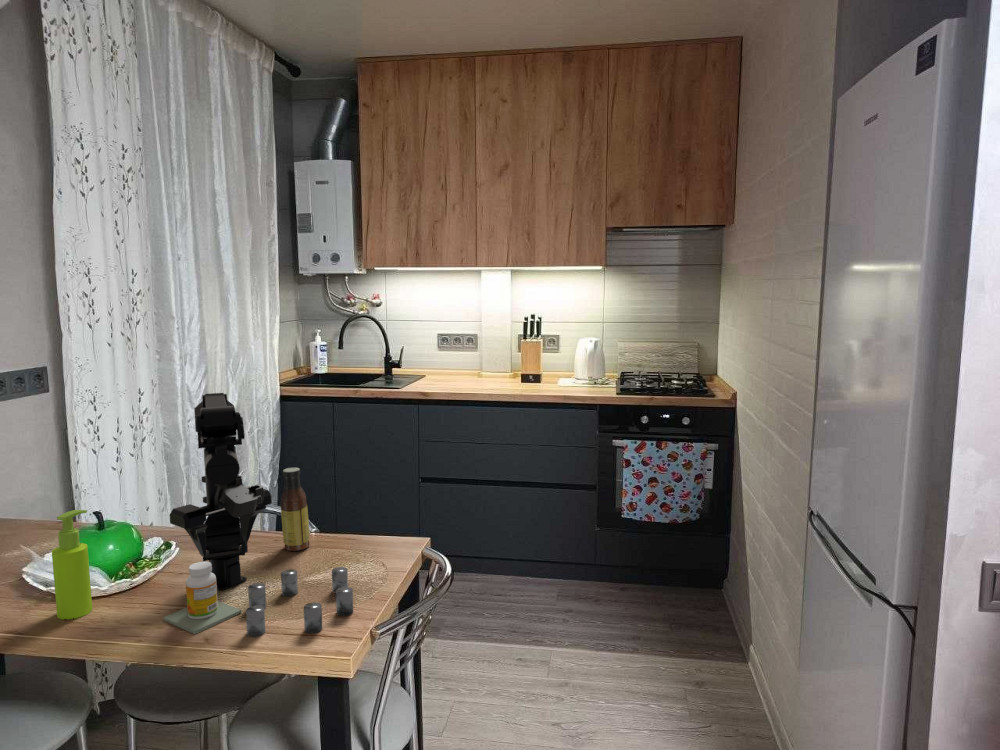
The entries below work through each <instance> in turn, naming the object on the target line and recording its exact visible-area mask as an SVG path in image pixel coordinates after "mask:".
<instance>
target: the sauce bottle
mask: <svg viewBox="0 0 1000 750" xmlns="http://www.w3.org/2000/svg"><path fill="white" fill-rule="evenodd" d="M300 475H301V469H300V468H299V467H287V468H285V469H283V470H282V477H283V486H284V487H283V493H282V495H281V500H280V512H281V513H280V515H281V516H280V517H281V524H282V525H281V526H282V527H281V528H282V540H283V544H284V548H285V550H286V551H291V552H297V551H298V552H299V551H303V550H306V549H307V548H308V547H310V538H311V537H310V525H309V523H310V522H309V512H308V503H307V495H306V491H304V489H303V487H302V486H301V476H300Z"/></svg>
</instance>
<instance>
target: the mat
mask: <svg viewBox="0 0 1000 750" xmlns="http://www.w3.org/2000/svg"><path fill="white" fill-rule="evenodd" d="M217 602H218V611H217V612H216V614H214V615H213V616H211V617H208V618H204V619H192V618H190V617H189V616H188V612H187V607H184V608H182V609H180V610H178V611H175V612H172V613H170V614H168V615H166V616H163V618H162V619H163V621H164V622H166V623H169V624H170V625H173V626H175V627H177V628H180V629H182V630H183V631H187V632H188V633H191V634H193V635H196V634H199V633H201V632H203V631H205V630H207V629H210V628H213V626H216V625H219V624H220V623H222V622H224V621H227V620H229V619H232V618H233V617H236V616H238V615H240V614H242V613H241V612H242V609H240V608H238V607H235V606H234V605H229V604H227V603H225V602H223V601H219V600H218V599H217ZM239 613H240V614H239ZM237 614H238V615H237ZM235 615H236V616H235ZM232 616H233V617H232Z"/></svg>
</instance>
